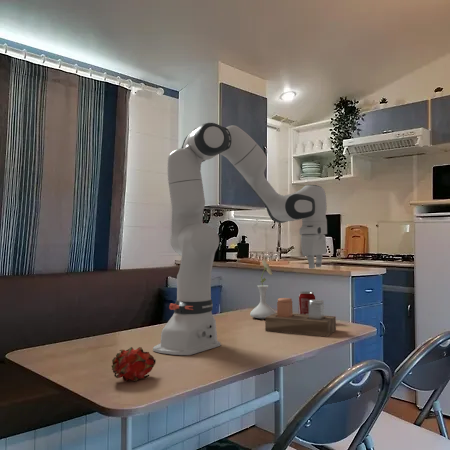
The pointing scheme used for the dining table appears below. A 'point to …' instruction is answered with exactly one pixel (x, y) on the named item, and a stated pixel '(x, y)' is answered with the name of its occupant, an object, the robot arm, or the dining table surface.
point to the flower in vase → (263, 298)
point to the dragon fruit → (133, 364)
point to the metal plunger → (316, 309)
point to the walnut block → (301, 325)
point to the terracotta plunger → (284, 307)
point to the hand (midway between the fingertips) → (315, 267)
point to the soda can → (305, 301)
